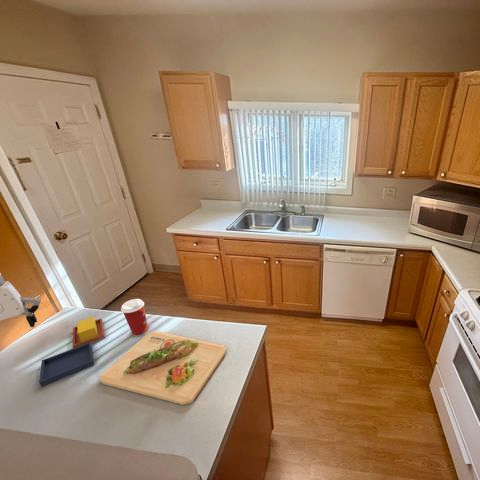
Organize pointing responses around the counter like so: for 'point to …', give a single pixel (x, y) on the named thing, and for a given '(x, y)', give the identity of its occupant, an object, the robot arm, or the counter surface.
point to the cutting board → (165, 367)
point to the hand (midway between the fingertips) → (10, 331)
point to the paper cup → (135, 316)
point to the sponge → (87, 329)
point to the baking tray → (66, 364)
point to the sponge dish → (101, 335)
